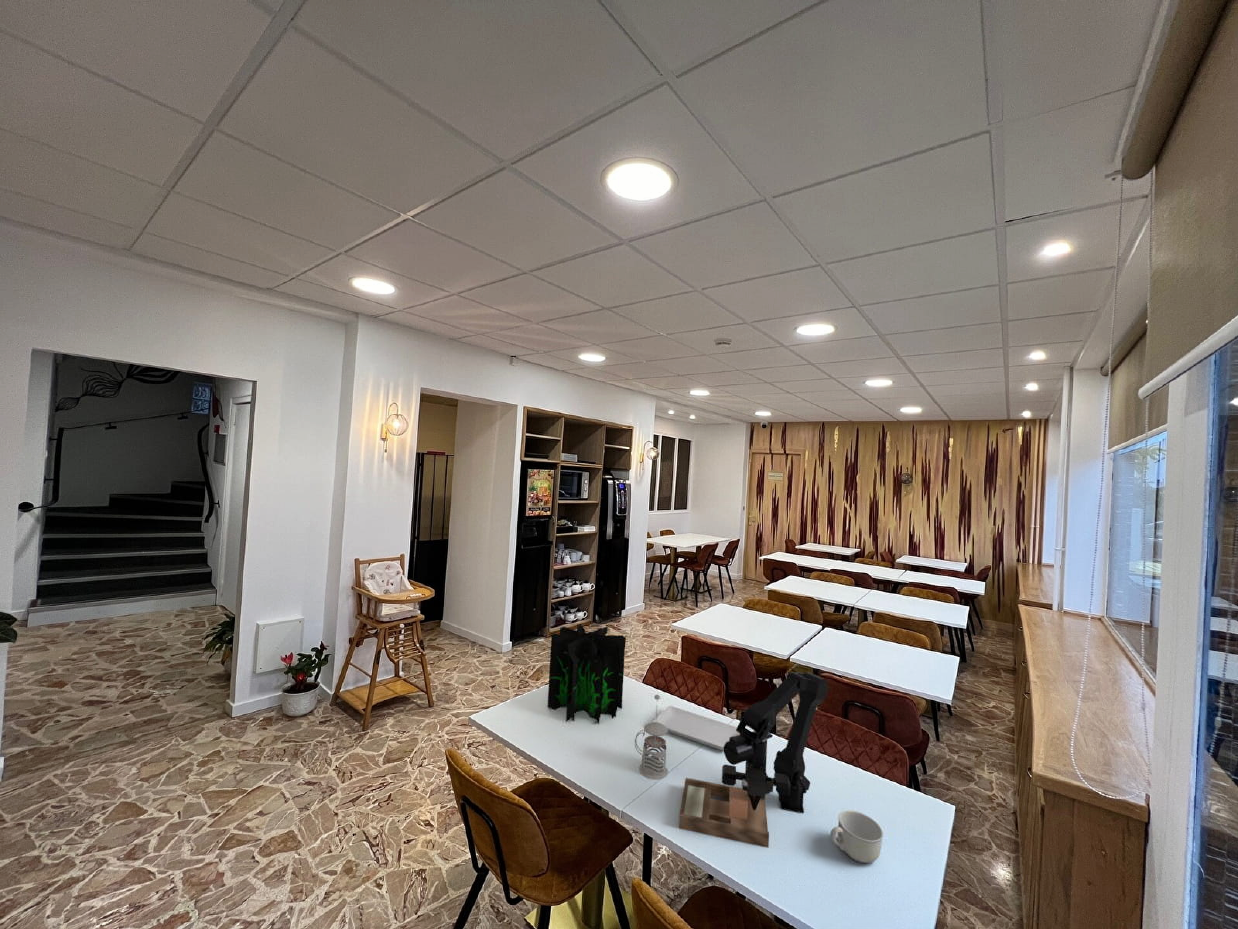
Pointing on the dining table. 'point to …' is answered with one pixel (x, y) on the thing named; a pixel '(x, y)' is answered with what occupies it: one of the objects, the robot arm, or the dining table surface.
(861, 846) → the teacup
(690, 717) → the tray
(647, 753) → the french press
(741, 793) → the block
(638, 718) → the dining table surface
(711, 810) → the box
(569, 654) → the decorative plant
